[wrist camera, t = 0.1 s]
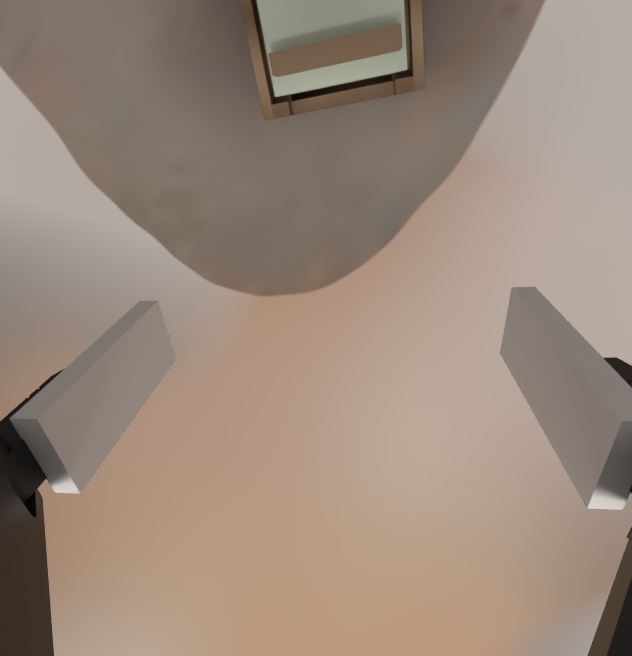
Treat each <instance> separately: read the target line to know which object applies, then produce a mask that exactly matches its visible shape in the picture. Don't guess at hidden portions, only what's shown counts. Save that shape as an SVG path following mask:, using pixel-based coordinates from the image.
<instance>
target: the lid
mask: <svg viewBox="0 0 632 656" xmlns="http://www.w3.org/2000/svg"><path fill="white" fill-rule="evenodd" d="M257 5H258V10H259V15H260V21H261V26H262V31H263V36H264V41H265V47H266V52H267V57H268V62H269V67H270V73H271V78H272V83H273V88H274V93H275V97H282V96H287V95H291V94H296V93H301V92H306V91H311V90H316V89H320V88H325V87H330V86H335V85H340V84H345V83H349V82H354V81H359V80H364V79H369V78H374V77H378V76H383V75H388V74H393V73H398V72H403V71H406V70H407V50H406V30H405V9H404V0H257Z"/></svg>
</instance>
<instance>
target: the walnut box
mask: <svg viewBox="0 0 632 656" xmlns="http://www.w3.org/2000/svg"><path fill="white" fill-rule="evenodd" d="M240 5H241V10H242V15H243V19H244V24H245V29H246V34H247V38H248V43H249V48H250V53H251V58H252V62H253V67H254V72H255V77H256V81H257V86H258V91H259V96H260V101H261V105H262V110H263V115H264V120H269V119H274V118H279V117H285V116H290V115H295V114H300V113H305V112H310V111H315V110H320V109H325V108H330V107H335V106H340V105H345V104H350V103H355V102H360V101H365V100H370V99H375V98H381V97H386V96H391V95H396V94H401V93H406V92H411V91H416V90H421V89H425V83H424V52H423V20H422V0H404V9H405V30H406V50H407V70H406V71H403V72H398V73H393V74H388V75H383V76H378V77H374V78H369V79H364V80H359V81H354V82H349V83H345V84H340V85H335V86H330V87H325V88H320V89H316V90H311V91H306V92H301V93H296V94H291V95H287V96H282V97H275V93H274V88H273V83H272V78H271V73H270V67H269V62H268V57H267V52H266V47H265V41H264V36H263V31H262V26H261V21H260V15H259V10H258V5H257V0H240Z"/></svg>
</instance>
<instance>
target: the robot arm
mask: <svg viewBox="0 0 632 656" xmlns="http://www.w3.org/2000/svg"><path fill="white" fill-rule="evenodd" d="M500 354H501V356H502V358H503V359H504V361H505V363H506V365H507V367H508V368H509V370H510V372H511V374H512V376H513V377H514V379H515V381H516V383H517V385H518V386H519V388H520V390H521V392H522V393H523V395H524V397H525V399H526V400H527V402H528V404H529V406H530V408H531V409H532V411H533V413H534V415H535V417H536V418H537V420H538V422H539V424H540V425H541V427H542V429H543V431H544V432H545V434H546V436H547V438H548V439H549V441H550V443H551V445H552V447H553V449H554V450H555V452H556V454H557V456H558V457H559V459H560V461H561V463H562V465H563V466H564V468H565V470H566V471H567V473H568V475H569V477H570V479H571V481H572V482H573V484H574V486H575V488H576V489H577V491H578V493H579V495H580V497H581V498H582V500H583V502H584V504H585V505H586V507H587V508H590V509H623V507H624V505H625V503H626V501H627V499H628V496H629V494H630V492H631V493H632V366H631V365H629V364H627V363H626V362H624V361H622V360H620V359H618V358H603V357H602V356H601V355H600V354H599V353H598V352H597V351H596V350H595V349H594V348H593V347H592V346H591V345H590V344H589V343H588V342H587V341H586V340H585V339H584V337H583V336H582V335H581V334H579V332H578V331H577V330H576V329H575V328H574V327H573V326H572V325H571V324H570V323H569V322H568V321H567V320H566V319H565V318H564V317H563V316H562V315H561V313H559V311H558V310H557V309H556V308H555V307H554V306H553V305H552V304H551V303H550V302H549V301H548V300H547V299H546V298H545V297H544V296H543V295H542V294H541V293H540V292H539V291H538V290H537V288H536V287H516V288H512V289H511V294H510V300H509V306H508V311H507V317H506V323H505V328H504V334H503V340H502V345H501V351H500ZM175 360H176V357H175V353H174V350H173V347H172V344H171V341H170V337H169V334H168V331H167V328H166V325H165V322H164V318H163V315H162V312H161V309H160V305H159V302H158V301H140V302H138V303H137V304H136V305H135V306H134V307H133V308H132V309H131V310H129V312H127V313H126V314H125V315H124V316H123V317H122V318H121V319H119V321H117V322H116V323H115V324H114V325H113V326H112V327H111V328H110V329H109V330H107V331H106V332H105V333H104V334H103V335H102V336H101V337H100V338H98V339H97V340H96V341H95V342H94V343H93V344H92V345H91V346H90V347H89V348H87V349H86V350H85V351H84V352H83V353H82V354H81V355H80V356H79V357H77V358H76V359H75V360H74V361H73V362H72V363H71V364H70V365H68V366H67V368H65V369H63V370H61V371H59V372H58V373H56V374H54V375H53V376H51V377H50V378H49V379H48V380H47V381H45V382H44V383H43V384H42V385H41V386H40V387H39V389H36V390H35V391H34V392H33V393H32V394H31V395H30V397H29V398H26V399H25V400H24V401H23V402H22V403H21V404H19V405H18V406H17V407H16V408H15V409H14V410H13V411H12V412H10V413H9V414H8V415H7V416H6V417H5V418H4V419H3V420H1V421H0V656H54V650H53V637H52V623H51V609H50V597H49V596H50V595H49V581H48V568H47V555H46V540H45V527H44V514H43V500H42V496H41V494H40V493H39V491H38V489H37V488H38V487H39V486H40V485H41V484H42V482H43V481H44V480H45V479H47V480H48V482H49V483H50V485H51V487H52V488H53V490H54V492H56V493H81V491H82V490H83V489H84V487H85V486H86V484H87V483H88V482H89V480H90V479H91V477H92V476H93V475H94V473H95V472H96V470H97V469H98V468H99V466H100V465H101V463H102V462H103V461H104V459H105V458H106V457H107V455H108V454H109V452H110V451H111V450H112V448H113V447H114V445H115V444H116V443H117V441H118V440H119V438H120V437H121V436H122V434H123V433H124V431H125V430H126V429H127V427H128V426H129V424H130V423H131V421H132V420H133V419H134V417H135V416H136V415H137V413H138V412H139V410H140V409H141V408H142V406H143V405H144V403H145V402H146V401H147V399H148V398H149V396H150V395H151V394H152V392H153V391H154V389H155V388H156V387H157V385H158V384H159V382H160V381H161V380H162V378H163V377H164V375H165V374H166V373H167V371H168V370H169V368H170V367H171V366H172V364H173V363H174V361H175ZM627 538H629V541H628V543H627V546H626V549H625V552H624V554H623V557H622V560H621V563H620V566H619V569H618V571H617V574H616V577H615V580H614V583H613V586H612V588H611V591H610V594H609V597H608V600H607V602H606V605H605V608H604V611H603V614H602V617H601V619H600V622H599V625H598V628H597V631H596V633H595V637H594V639H593V642H592V645H591V648H590V651H589V653H588V656H632V527H631V529H630V531H629V533H628V535H627Z"/></svg>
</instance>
